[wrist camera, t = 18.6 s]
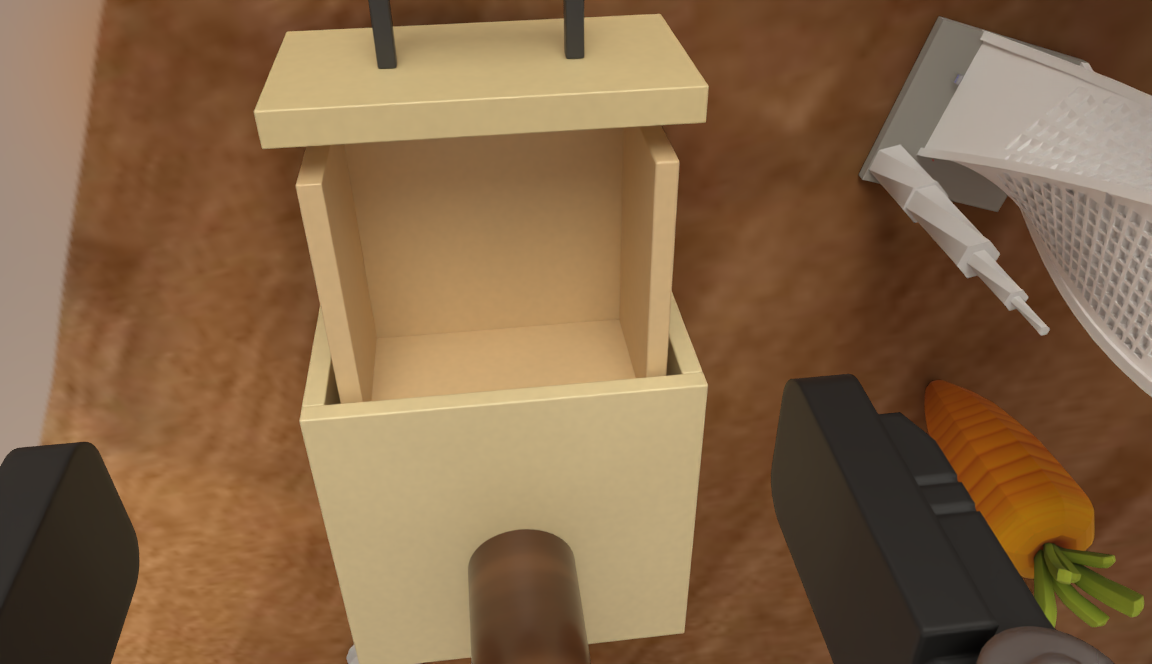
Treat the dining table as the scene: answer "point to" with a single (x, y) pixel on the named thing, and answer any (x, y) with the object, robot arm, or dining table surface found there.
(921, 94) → the skyscraper
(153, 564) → the dining table surface
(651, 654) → the dining table surface
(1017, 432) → the carrot
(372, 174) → the drawer
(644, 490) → the cabinet
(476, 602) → the pepper mill
